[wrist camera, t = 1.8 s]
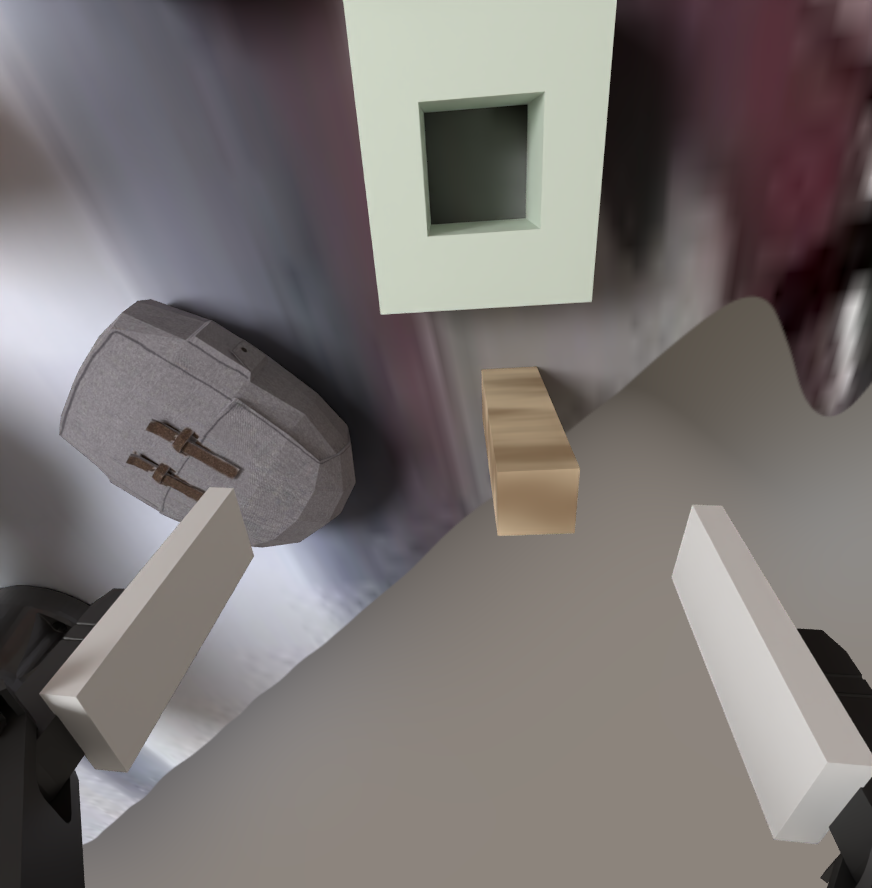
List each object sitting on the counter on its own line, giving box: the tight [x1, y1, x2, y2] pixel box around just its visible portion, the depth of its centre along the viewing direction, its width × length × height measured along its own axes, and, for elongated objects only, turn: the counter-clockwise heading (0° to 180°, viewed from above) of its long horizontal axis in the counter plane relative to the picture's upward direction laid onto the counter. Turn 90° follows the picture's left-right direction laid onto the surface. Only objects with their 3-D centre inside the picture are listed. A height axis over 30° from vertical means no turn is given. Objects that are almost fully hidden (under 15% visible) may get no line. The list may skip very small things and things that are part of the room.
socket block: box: [343, 0, 617, 314], centre depth 28 cm, size 14×12×6 cm
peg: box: [482, 367, 580, 536], centre depth 32 cm, size 4×4×14 cm
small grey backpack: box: [59, 299, 356, 547], centre depth 36 cm, size 15×8×20 cm
